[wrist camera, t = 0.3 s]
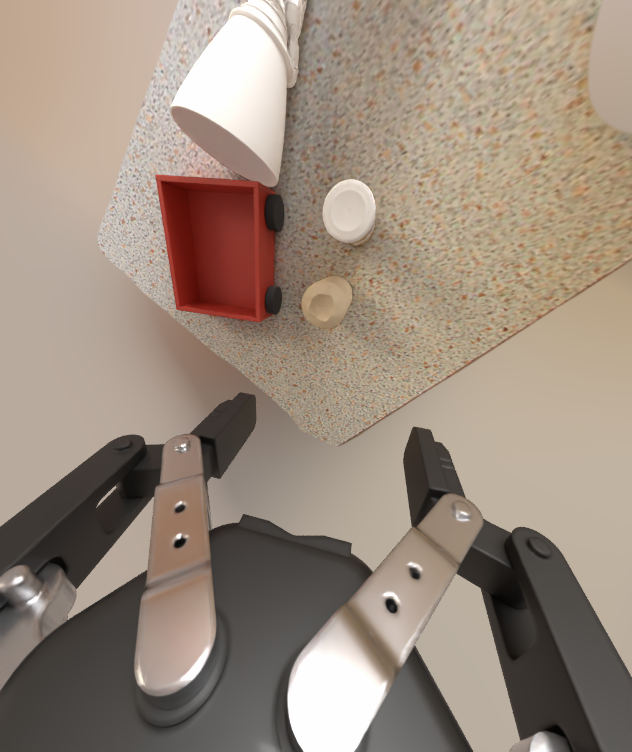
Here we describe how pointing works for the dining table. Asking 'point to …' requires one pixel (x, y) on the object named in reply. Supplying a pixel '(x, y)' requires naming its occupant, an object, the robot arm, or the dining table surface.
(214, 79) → the rocket engine
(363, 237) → the sprinkles bottle
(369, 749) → the robot arm
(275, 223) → the cart wheels
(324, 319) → the candle
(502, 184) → the dining table surface
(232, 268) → the cart
